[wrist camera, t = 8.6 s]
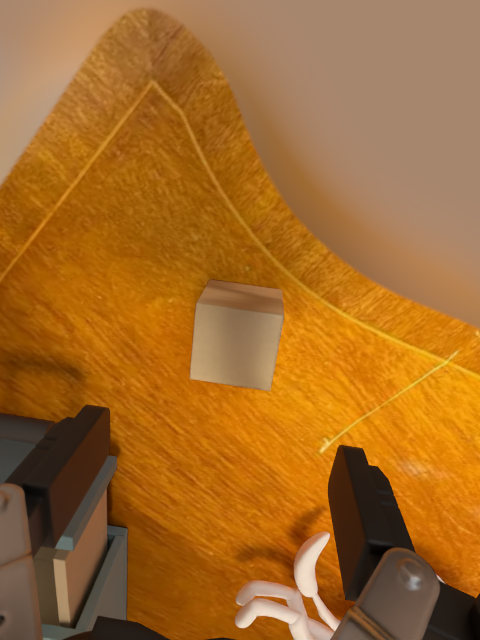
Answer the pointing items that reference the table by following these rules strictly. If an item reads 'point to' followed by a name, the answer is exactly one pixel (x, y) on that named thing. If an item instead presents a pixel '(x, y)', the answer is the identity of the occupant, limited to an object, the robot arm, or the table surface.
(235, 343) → the block
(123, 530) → the cabinet
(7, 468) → the drawer
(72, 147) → the table surface
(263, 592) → the figurine
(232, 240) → the table surface
